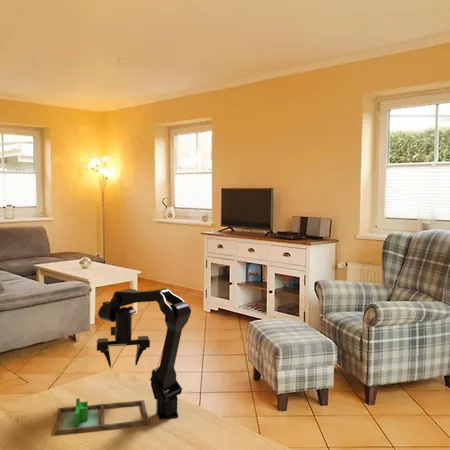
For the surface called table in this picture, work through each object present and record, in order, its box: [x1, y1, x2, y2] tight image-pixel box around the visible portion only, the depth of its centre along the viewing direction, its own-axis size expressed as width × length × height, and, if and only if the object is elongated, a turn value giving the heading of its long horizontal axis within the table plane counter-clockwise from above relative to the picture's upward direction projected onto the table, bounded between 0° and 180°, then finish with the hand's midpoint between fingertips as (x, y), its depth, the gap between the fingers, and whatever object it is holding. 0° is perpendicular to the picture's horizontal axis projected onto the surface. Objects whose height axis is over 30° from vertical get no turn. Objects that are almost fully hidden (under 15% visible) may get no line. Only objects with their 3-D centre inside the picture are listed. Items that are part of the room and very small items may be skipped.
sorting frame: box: [54, 399, 150, 435], centre depth 160 cm, size 29×16×1 cm, turn 105°
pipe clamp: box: [74, 397, 88, 427], centre depth 159 cm, size 11×4×5 cm, turn 16°
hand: (123, 366), depth 175 cm, fingers open, 9 cm apart
